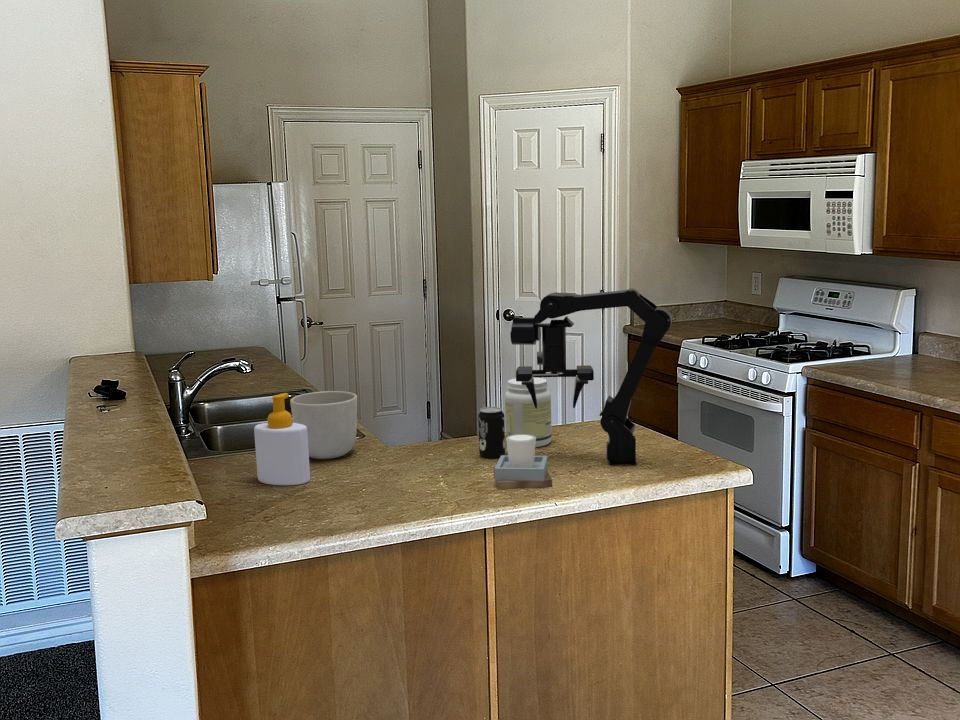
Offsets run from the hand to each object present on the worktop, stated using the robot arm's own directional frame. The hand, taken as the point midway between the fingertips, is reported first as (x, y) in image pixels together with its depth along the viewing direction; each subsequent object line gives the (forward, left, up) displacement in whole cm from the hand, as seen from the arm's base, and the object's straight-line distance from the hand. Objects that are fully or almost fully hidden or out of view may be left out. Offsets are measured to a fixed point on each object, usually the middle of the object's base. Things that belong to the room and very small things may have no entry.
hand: (555, 408), depth 218 cm
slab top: (+8, +17, -12) cm, 22 cm away
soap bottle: (+64, +16, -13) cm, 67 cm away
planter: (+59, -6, -13) cm, 61 cm away
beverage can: (+16, -4, -13) cm, 21 cm away
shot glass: (+8, +17, -10) cm, 21 cm away
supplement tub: (+7, -16, -13) cm, 22 cm away
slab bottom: (+8, +17, -14) cm, 23 cm away
